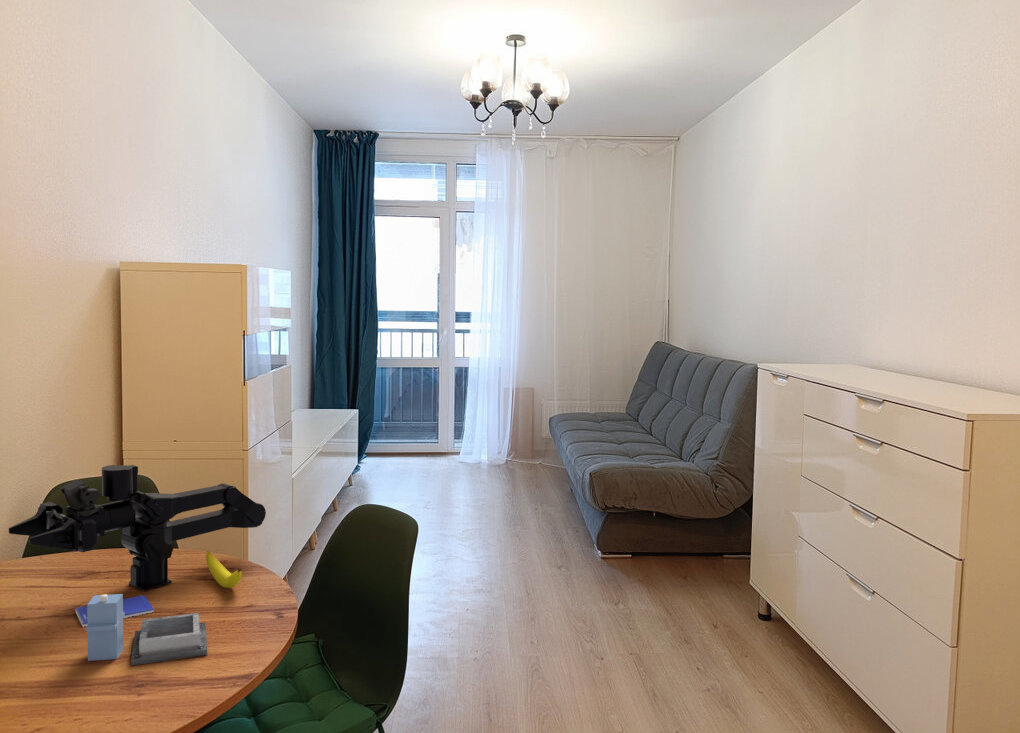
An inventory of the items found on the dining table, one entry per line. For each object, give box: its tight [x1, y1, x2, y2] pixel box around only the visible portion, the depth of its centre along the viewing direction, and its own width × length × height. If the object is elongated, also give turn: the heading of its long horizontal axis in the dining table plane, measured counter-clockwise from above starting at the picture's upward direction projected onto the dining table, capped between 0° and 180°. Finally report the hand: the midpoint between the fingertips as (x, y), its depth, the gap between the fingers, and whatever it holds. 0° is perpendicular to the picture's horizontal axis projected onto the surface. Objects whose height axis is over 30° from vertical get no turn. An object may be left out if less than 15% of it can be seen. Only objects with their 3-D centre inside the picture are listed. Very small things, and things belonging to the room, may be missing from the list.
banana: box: [205, 550, 243, 589], centre depth 166 cm, size 3×19×6 cm, turn 41°
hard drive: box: [75, 594, 155, 628], centre depth 150 cm, size 2×8×12 cm
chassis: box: [130, 612, 208, 667], centre depth 137 cm, size 12×12×4 cm
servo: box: [85, 593, 125, 662], centre depth 133 cm, size 6×5×11 cm
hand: (19, 536), depth 144 cm, fingers open, 9 cm apart
